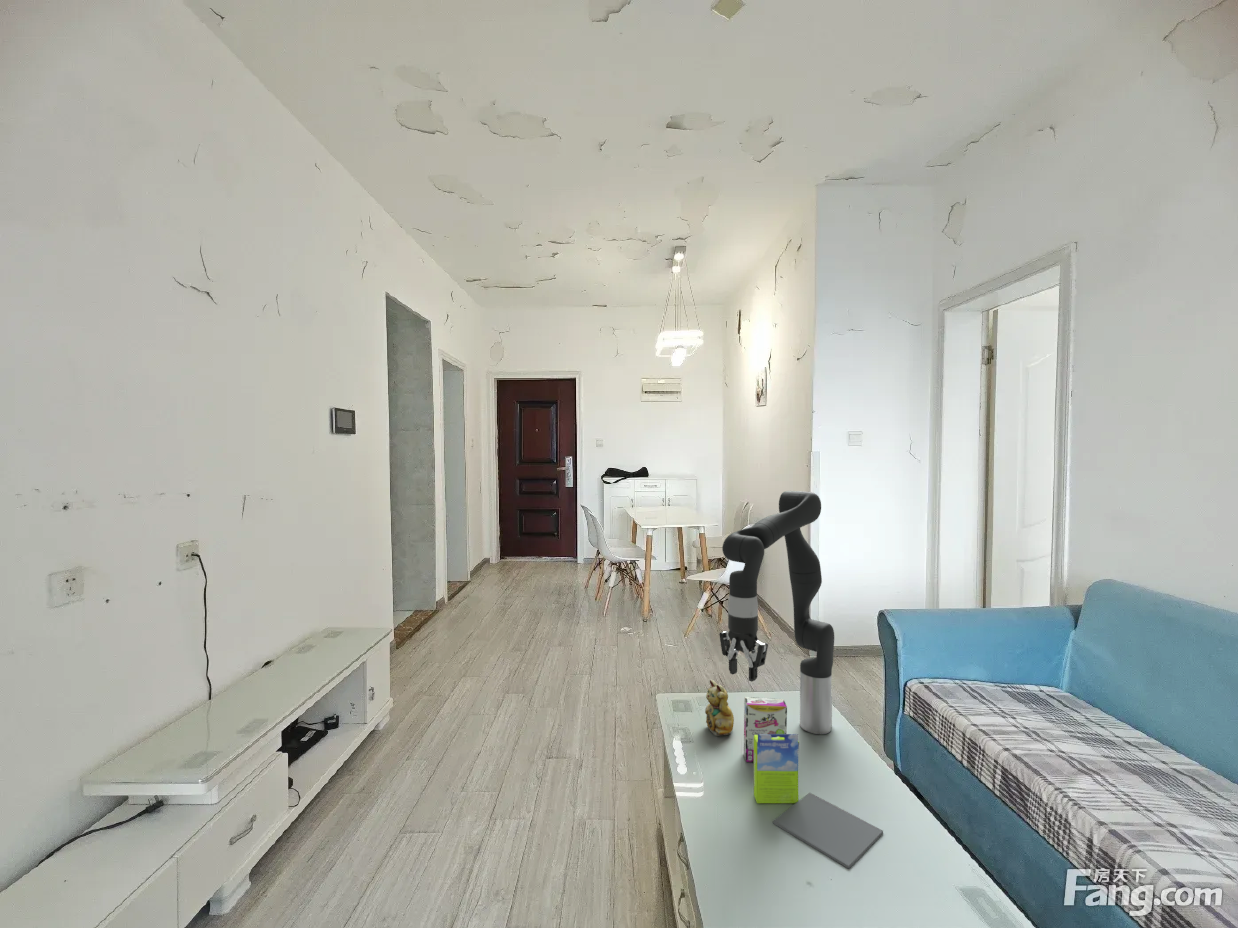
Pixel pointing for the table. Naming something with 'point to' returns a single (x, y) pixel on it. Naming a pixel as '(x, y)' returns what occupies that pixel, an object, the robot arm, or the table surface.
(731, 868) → the table surface
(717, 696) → the decorative figurine
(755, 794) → the box
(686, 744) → the table surface
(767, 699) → the candy bar box
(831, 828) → the mat
